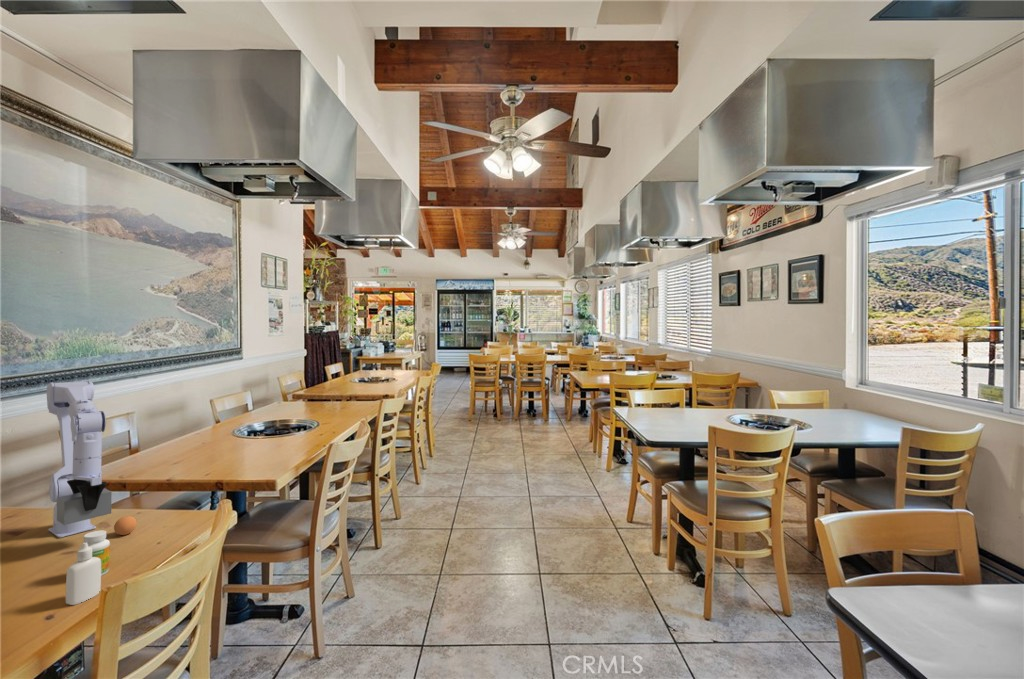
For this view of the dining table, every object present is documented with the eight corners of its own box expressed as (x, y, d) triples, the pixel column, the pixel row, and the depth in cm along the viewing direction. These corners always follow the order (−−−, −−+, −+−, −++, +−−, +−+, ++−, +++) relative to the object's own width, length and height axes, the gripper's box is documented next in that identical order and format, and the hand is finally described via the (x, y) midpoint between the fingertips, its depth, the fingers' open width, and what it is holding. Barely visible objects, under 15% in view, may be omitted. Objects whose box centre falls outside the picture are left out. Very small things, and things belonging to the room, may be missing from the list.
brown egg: (137, 520, 134) (120, 535, 131) (123, 511, 132) (106, 526, 128) (144, 524, 132) (127, 540, 128) (130, 514, 129) (113, 530, 126)
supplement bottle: (90, 581, 105) (91, 539, 105) (72, 578, 106) (73, 537, 106) (115, 570, 110) (116, 530, 110) (97, 567, 111) (98, 527, 111)
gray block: (56, 520, 120) (56, 497, 120) (103, 508, 128) (103, 487, 128) (64, 525, 117) (64, 502, 117) (111, 513, 125) (111, 491, 125)
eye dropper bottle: (64, 599, 97) (66, 544, 98) (99, 589, 102) (101, 536, 102) (66, 608, 95) (67, 550, 95) (102, 597, 99) (103, 542, 99)
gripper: (58, 456, 123) (57, 506, 123) (76, 464, 115) (75, 517, 115) (92, 451, 129) (91, 498, 129) (112, 458, 121) (110, 509, 121)
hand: (86, 507), depth 122 cm, fingers closed on gray block, 6 cm apart
